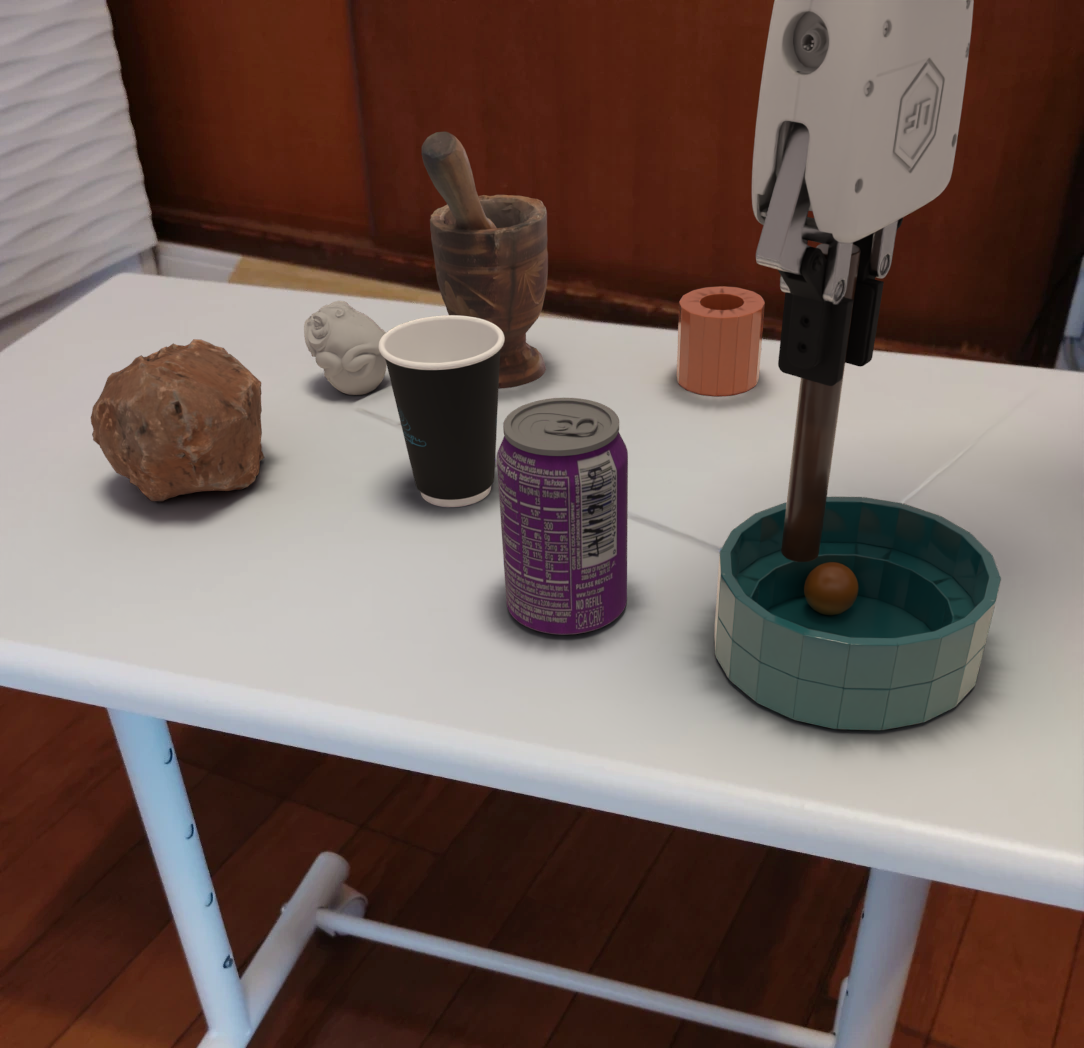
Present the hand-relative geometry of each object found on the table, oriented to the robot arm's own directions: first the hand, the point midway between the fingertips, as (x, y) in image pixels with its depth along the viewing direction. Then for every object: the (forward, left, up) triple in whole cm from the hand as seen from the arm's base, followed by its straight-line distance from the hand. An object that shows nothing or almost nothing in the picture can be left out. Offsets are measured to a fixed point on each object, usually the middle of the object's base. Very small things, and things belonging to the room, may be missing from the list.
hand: (824, 364), depth 57 cm
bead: (-3, +1, -14) cm, 14 cm away
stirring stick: (0, 0, -11) cm, 11 cm away
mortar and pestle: (-14, -36, -16) cm, 42 cm away
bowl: (0, +3, -16) cm, 16 cm away
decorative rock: (+10, -43, -16) cm, 47 cm away
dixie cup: (0, -27, -16) cm, 31 cm away
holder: (-24, -22, -16) cm, 36 cm away
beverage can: (+6, -12, -16) cm, 21 cm away
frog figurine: (-7, -45, -16) cm, 48 cm away
